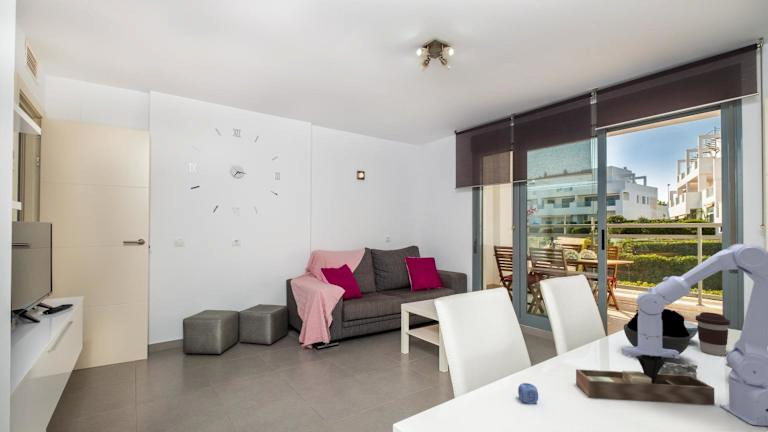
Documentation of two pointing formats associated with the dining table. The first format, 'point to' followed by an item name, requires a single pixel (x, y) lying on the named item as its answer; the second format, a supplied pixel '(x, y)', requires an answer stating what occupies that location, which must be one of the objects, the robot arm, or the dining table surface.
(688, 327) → the chinaware
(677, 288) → the robot arm
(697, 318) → the coffee cup
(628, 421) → the dining table surface
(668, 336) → the bowl of black rocks
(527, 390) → the decorative dice
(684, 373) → the egg carton
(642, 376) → the beech block
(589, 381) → the brown wooden long box
